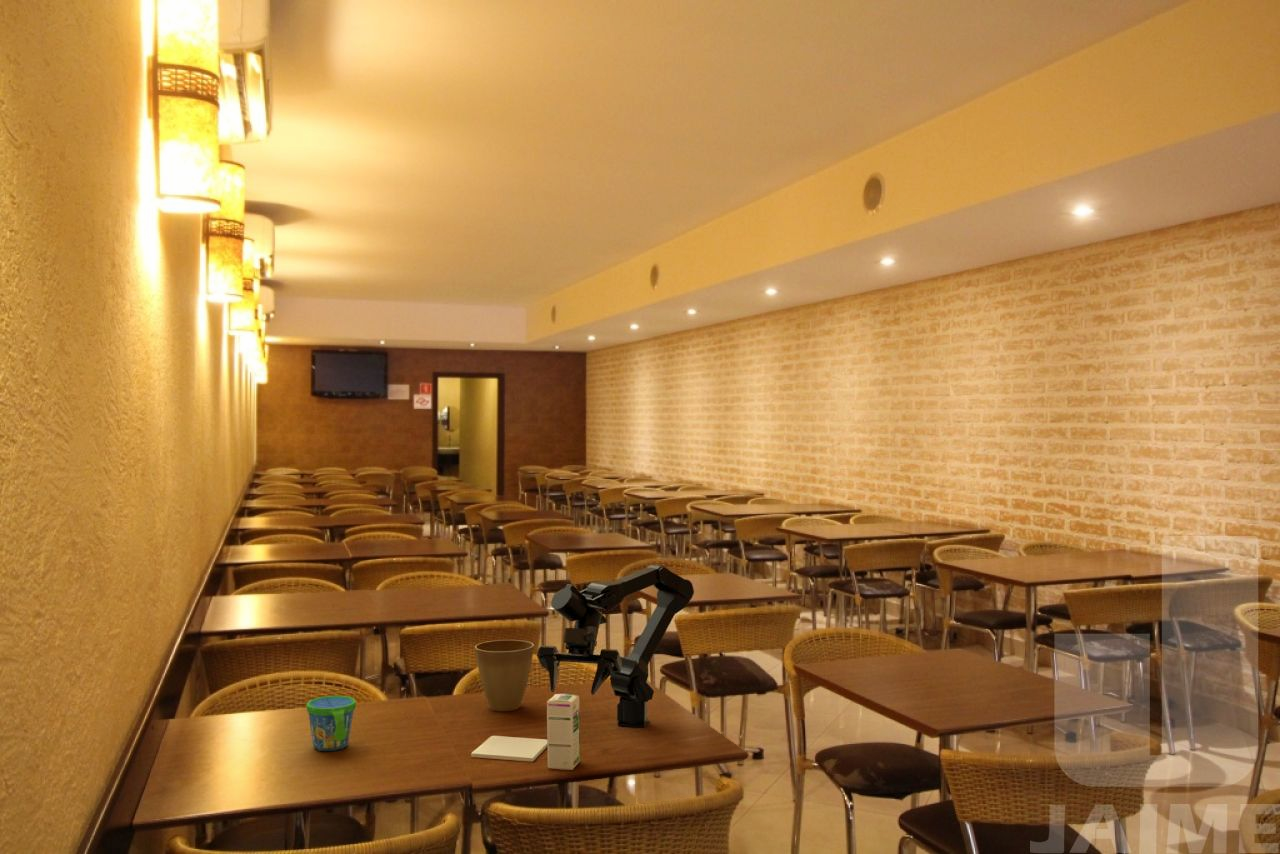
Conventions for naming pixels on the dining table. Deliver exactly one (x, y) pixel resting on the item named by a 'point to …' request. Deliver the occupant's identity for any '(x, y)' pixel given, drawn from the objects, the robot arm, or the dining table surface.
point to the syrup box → (563, 731)
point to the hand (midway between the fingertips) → (572, 692)
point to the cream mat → (510, 748)
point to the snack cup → (331, 721)
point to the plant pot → (504, 671)
